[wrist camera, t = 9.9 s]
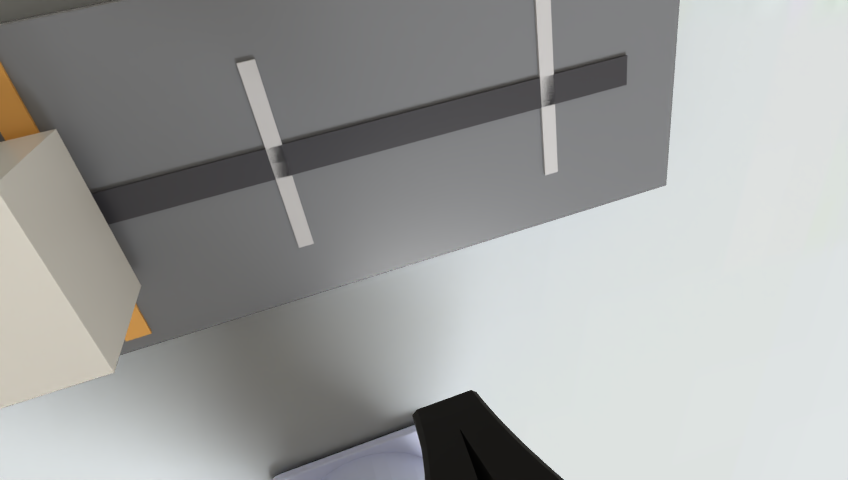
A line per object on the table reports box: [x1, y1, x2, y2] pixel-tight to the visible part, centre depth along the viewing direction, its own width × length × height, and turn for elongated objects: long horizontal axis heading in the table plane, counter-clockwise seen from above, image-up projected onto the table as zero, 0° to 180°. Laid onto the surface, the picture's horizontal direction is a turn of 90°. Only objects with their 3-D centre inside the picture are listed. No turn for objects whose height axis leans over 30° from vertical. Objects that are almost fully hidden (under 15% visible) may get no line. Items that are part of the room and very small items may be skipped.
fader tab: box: [0, 129, 141, 409], centre depth 13 cm, size 5×3×4 cm, turn 9°
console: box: [0, 0, 680, 355], centre depth 17 cm, size 10×28×2 cm, turn 99°
